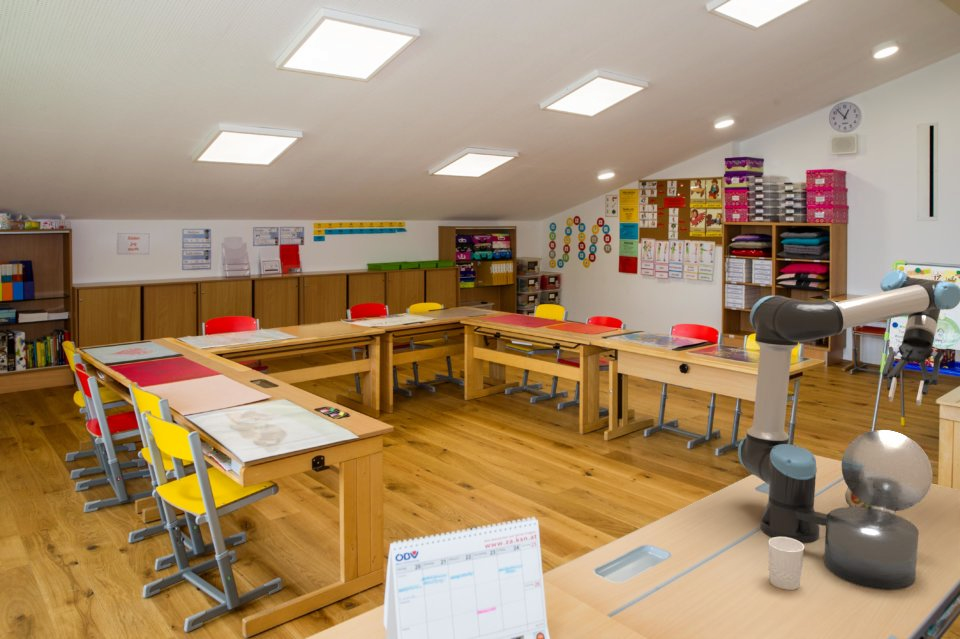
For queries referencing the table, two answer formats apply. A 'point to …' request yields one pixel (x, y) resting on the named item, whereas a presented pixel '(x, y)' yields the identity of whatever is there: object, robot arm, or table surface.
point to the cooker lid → (886, 470)
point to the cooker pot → (868, 546)
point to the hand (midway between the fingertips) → (904, 400)
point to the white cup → (785, 562)
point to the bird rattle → (853, 499)
